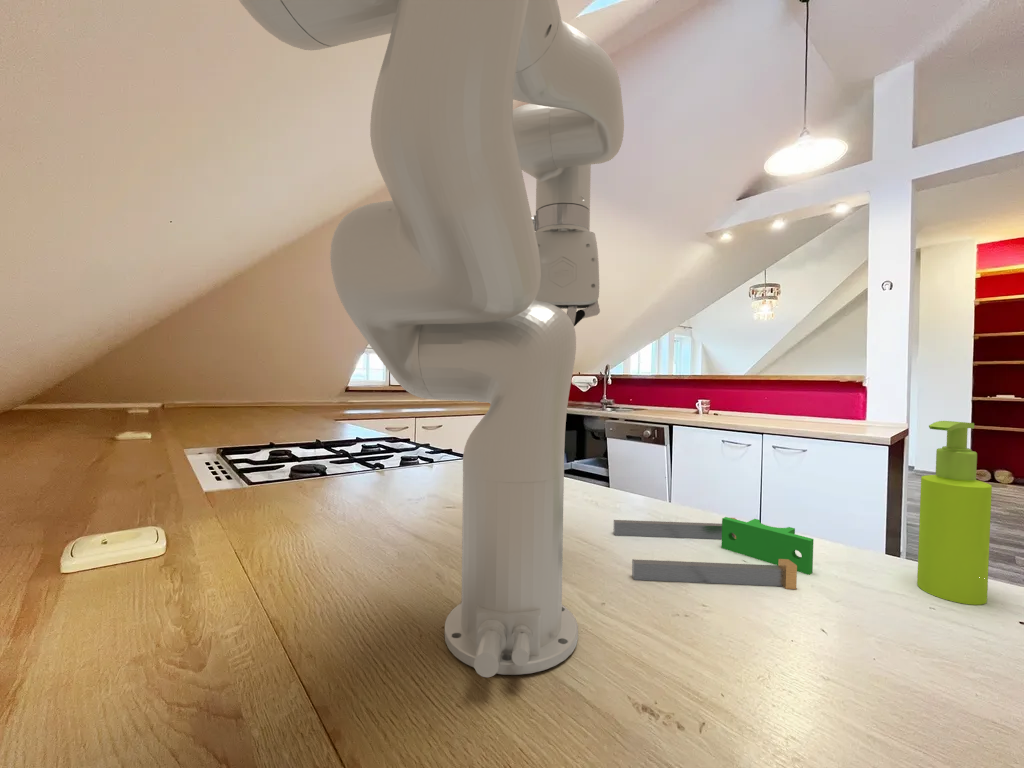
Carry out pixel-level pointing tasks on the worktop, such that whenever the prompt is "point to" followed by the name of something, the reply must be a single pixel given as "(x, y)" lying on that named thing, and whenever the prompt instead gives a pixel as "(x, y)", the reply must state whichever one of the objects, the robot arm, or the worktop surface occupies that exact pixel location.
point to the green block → (767, 543)
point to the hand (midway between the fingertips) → (560, 357)
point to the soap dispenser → (954, 523)
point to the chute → (701, 571)
